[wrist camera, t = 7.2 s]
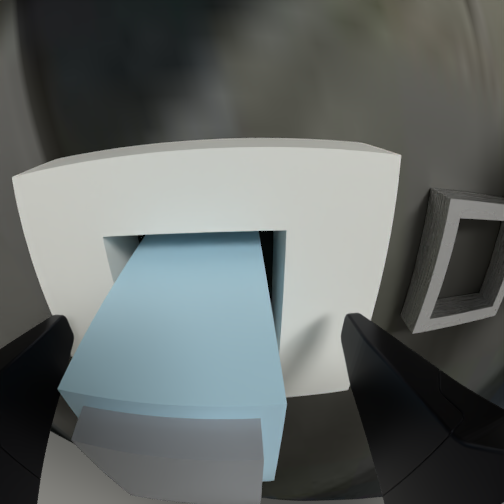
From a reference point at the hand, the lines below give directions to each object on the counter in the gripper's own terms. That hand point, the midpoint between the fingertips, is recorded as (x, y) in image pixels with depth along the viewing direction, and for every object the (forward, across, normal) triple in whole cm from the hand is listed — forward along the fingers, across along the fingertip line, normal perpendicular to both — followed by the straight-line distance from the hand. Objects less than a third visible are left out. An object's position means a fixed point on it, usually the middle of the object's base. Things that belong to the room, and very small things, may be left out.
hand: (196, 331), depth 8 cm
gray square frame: (+4, -13, 0) cm, 14 cm away
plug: (+4, 0, 0) cm, 4 cm away
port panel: (+4, 0, 0) cm, 4 cm away
